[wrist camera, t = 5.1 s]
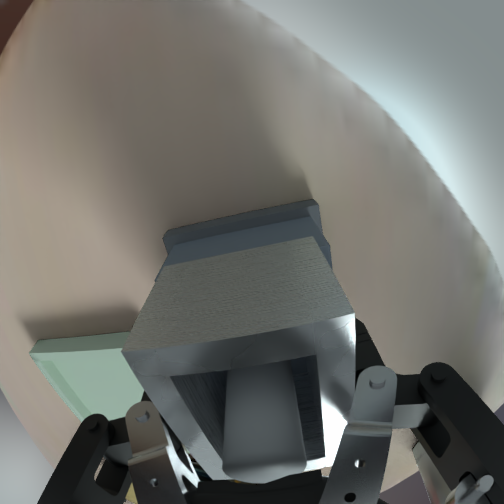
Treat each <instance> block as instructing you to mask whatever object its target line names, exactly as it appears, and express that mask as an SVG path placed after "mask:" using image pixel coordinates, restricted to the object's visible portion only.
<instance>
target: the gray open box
mask: <svg viewBox="0 0 504 504" xmlns="http://www.w3.org/2000/svg"><path fill="white" fill-rule="evenodd" d="M121 353H122V354H123V356H124V358H125V360H126V361H127V363H128V365H129V366H130V368H131V370H132V371H133V373H134V375H135V376H136V378H137V379H138V381H139V383H140V384H141V386H142V387H143V389H144V390H145V392H146V393H147V395H148V396H149V398H150V399H151V401H152V402H153V404H154V405H155V407H156V408H157V410H158V411H159V413H160V414H161V415H162V417H163V418H164V420H165V421H166V422H167V424H168V425H169V426H170V428H171V429H172V430H173V432H174V433H175V434H176V436H177V437H178V438H179V440H180V441H181V442H182V444H183V445H184V446H185V447H186V449H187V450H188V451H189V452H190V454H191V455H192V456H193V457H194V458H195V460H196V461H197V462H198V463H199V464H200V466H201V467H202V468H203V469H204V470H205V472H206V473H207V474H208V475H209V476H210V477H211V478H212V479H213V480H228V479H233V478H230V477H229V476H227V475H226V474H225V473H224V472H223V470H222V462H223V442H224V423H225V406H226V389H227V370H230V369H237V368H244V367H251V366H257V365H263V364H269V363H274V362H280V361H285V360H290V359H296V358H300V357H305V356H306V363H307V370H308V372H305V373H300V374H295V375H293V379H294V385H295V391H296V397H297V403H298V410H299V416H300V422H301V428H302V435H303V441H304V448H305V454H306V461H307V466H306V468H305V470H304V471H307V470H313V469H318V468H323V467H328V466H332V465H333V462H334V459H335V456H336V453H337V449H338V446H339V443H340V439H341V436H342V432H343V429H344V426H345V425H347V422H348V419H349V415H350V411H351V407H352V403H353V398H354V394H355V355H356V345H355V312H354V310H353V308H352V306H351V305H350V303H349V301H348V299H347V297H346V295H345V293H344V291H343V289H342V288H341V286H340V284H339V282H338V280H337V278H336V277H335V275H334V273H333V271H332V269H331V267H330V266H329V264H328V262H327V260H326V258H325V257H324V255H323V253H322V251H321V250H320V248H319V246H318V244H317V243H316V241H315V239H314V237H313V236H310V237H305V238H300V239H295V240H290V241H286V242H281V243H276V244H271V245H266V246H261V247H256V248H251V249H246V250H241V251H237V252H232V253H227V254H222V255H217V256H212V257H207V258H203V259H198V260H193V261H188V262H183V263H178V264H173V265H169V266H164V267H163V269H162V271H161V273H160V275H159V277H158V279H157V280H156V282H155V284H154V286H153V288H152V290H151V292H150V294H149V296H148V298H147V300H146V302H145V303H144V305H143V307H142V309H141V311H140V313H139V315H138V317H137V319H136V321H135V323H134V325H133V327H132V329H131V332H130V334H129V336H128V338H127V340H126V342H125V344H124V346H123V348H122V350H121Z"/></svg>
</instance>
